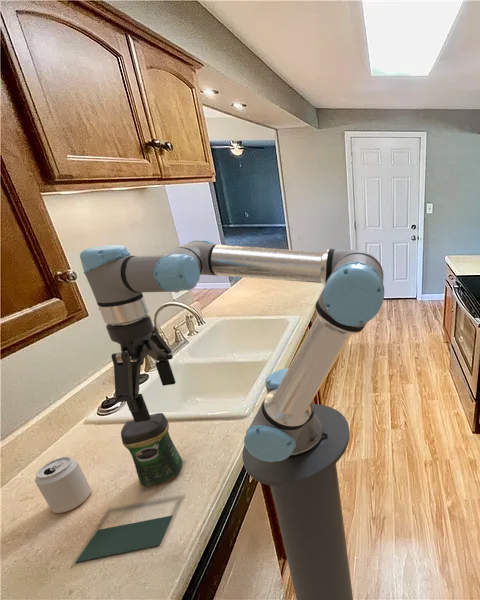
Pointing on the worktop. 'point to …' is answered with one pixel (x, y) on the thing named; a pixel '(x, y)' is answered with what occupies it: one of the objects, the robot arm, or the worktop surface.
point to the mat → (125, 538)
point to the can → (62, 484)
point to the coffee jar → (152, 450)
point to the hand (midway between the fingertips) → (157, 400)
